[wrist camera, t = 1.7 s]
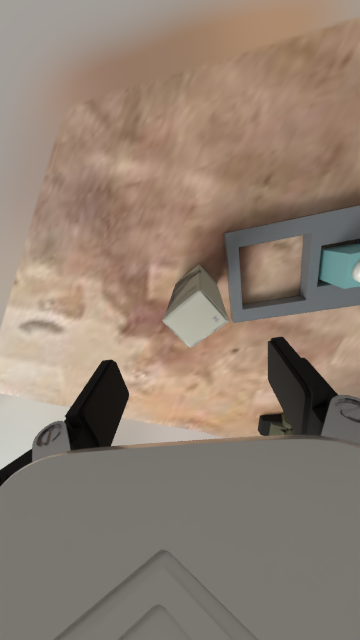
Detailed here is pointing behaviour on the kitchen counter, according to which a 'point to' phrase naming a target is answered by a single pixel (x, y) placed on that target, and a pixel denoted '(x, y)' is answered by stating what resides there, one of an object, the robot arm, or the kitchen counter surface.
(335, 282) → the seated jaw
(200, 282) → the box
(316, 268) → the frame
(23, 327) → the kitchen counter surface
